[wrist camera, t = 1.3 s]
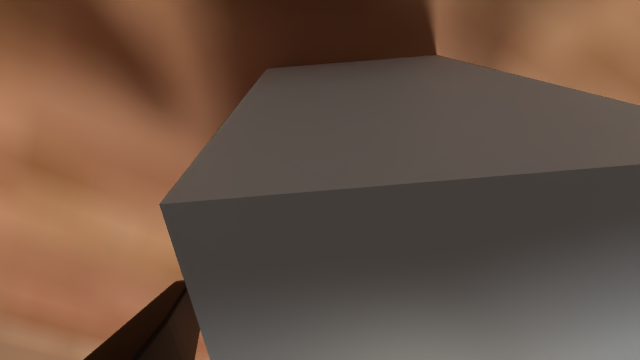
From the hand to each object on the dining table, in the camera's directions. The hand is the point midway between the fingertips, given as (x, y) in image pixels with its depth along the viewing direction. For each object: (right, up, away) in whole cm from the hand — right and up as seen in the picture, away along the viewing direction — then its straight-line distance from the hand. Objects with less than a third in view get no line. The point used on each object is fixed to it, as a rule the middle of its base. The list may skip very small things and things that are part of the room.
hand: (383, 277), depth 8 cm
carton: (0, +2, +4) cm, 4 cm away
